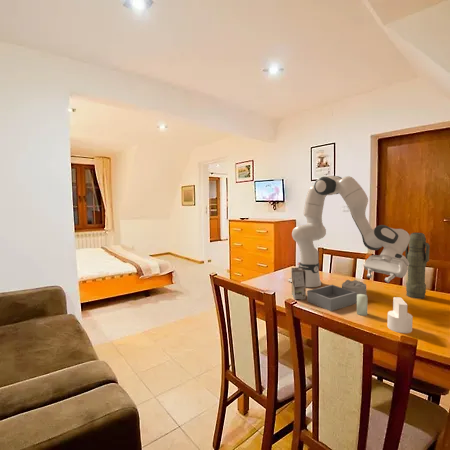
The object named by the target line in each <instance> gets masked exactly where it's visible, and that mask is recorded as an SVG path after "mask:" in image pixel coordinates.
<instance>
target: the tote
mask: <svg viewBox="0 0 450 450" xmlns="http://www.w3.org/2000/svg"><path fill="white" fill-rule="evenodd" d="M306 298H307V299H306V301H308V303H309V304H312V305H315V306H317V307H320V308H321V309H324V310H326V309H327V311H329V312H332V311H336V310H340V309H343V308H346V307H350V306H352V305H357V300H356V292H354V291H350V290H347V289H344V288H342V286H338V285H334V284H330V285H326V286H322V287H321V286H320V287H316V288H314V289H309V290H307V292H306Z"/></svg>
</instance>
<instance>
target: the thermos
mask: <svg viewBox="0 0 450 450" xmlns="http://www.w3.org/2000/svg"><path fill="white" fill-rule="evenodd" d="M409 235H410V241H409V244H408V246H407V248H406V250H405V251H404V252H405V253H404V254H405V255H404V256H405V258H406V259H407V260H408V262H409V266H408V270H407V281H406V286H405V287H406V288H405V289H406V290H405V291H406V295H405V296H406V297H409V298H411V299H418V300H421V299H425V298H426V292H427V291H426V290H427V284H426V266H427V263H428V262H429V261H430V248H431V247H430V246H431V245H430V244H429V243H428V242H427V238H426V235H425V233H423V232H412V233H410V234H409Z"/></svg>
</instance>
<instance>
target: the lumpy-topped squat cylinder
mask: <svg viewBox="0 0 450 450" xmlns="http://www.w3.org/2000/svg"><path fill="white" fill-rule="evenodd" d="M341 288H344V289H347V290H350V291H354V292H356V301H357V294H365V295H367V284H366V283H364V282H363V281H359V280H357V279H354V280H353V281H352V280H350V279H346V280H345V281H344V282H342V283H341Z"/></svg>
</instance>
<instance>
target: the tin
mask: <svg viewBox="0 0 450 450" xmlns="http://www.w3.org/2000/svg"><path fill="white" fill-rule="evenodd" d="M356 315H358V316H363V317H364V316H365V317H366V316H368V295H367V294H366V295H365V294H357V300H356Z"/></svg>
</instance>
